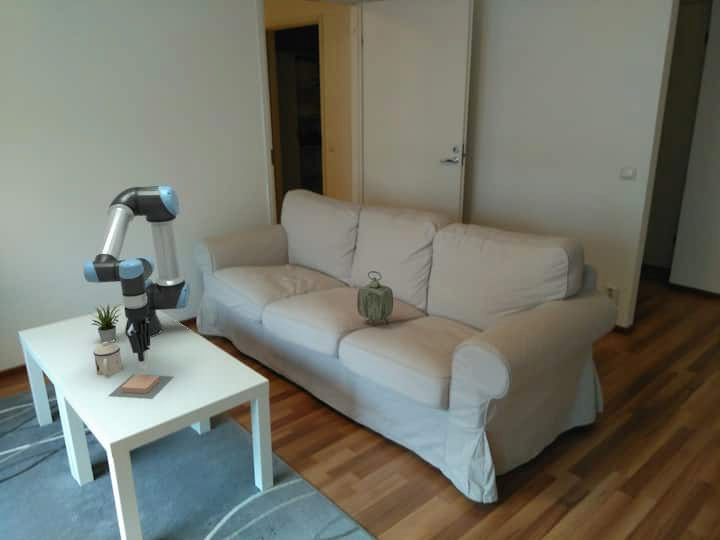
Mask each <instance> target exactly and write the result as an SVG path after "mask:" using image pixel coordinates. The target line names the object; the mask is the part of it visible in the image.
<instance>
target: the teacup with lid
mask: <svg viewBox="0 0 720 540" xmlns="http://www.w3.org/2000/svg"><path fill="white" fill-rule="evenodd" d="M92 352H93V353H92V355H94V361H95V368H96V373H97V374H98V376H103V377H104V376H105V377H106V376H111V375H116V374H118V373H119V372H121V371H122V370H123V364H122V358H121V356H122V355H121V347H120V345H119V344H115V343H109V342H103V343H102V344H101V345H98V346H97V347H95V348H94V350H93V351H92Z"/></svg>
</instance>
